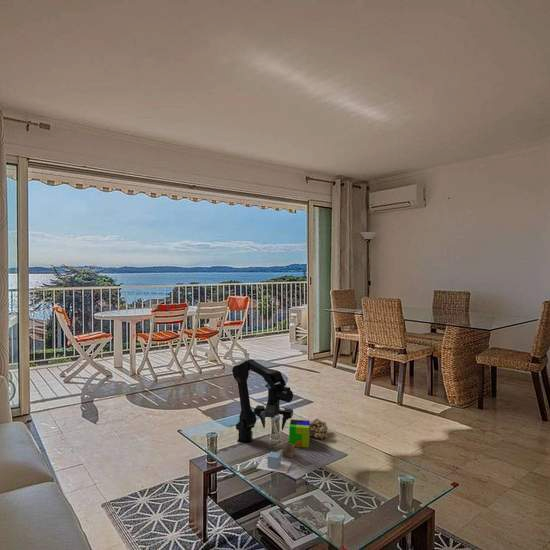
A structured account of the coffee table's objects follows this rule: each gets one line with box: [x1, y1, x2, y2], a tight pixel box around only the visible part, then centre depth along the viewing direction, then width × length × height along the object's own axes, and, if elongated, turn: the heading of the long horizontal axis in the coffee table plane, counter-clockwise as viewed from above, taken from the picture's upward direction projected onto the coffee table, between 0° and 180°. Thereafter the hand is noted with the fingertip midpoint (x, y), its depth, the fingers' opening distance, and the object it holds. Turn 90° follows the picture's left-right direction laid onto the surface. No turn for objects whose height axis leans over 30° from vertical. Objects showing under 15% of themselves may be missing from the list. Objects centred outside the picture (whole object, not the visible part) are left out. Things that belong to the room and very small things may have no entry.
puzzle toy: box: [288, 419, 311, 448], centre depth 211 cm, size 10×10×10 cm
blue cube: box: [266, 451, 282, 469], centre depth 185 cm, size 5×5×5 cm
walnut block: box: [281, 442, 296, 459], centre depth 196 cm, size 5×5×5 cm
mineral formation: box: [309, 417, 329, 440], centre depth 221 cm, size 8×13×15 cm
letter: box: [256, 458, 292, 474], centre depth 185 cm, size 14×10×1 cm
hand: (273, 429), depth 198 cm, fingers open, 9 cm apart
